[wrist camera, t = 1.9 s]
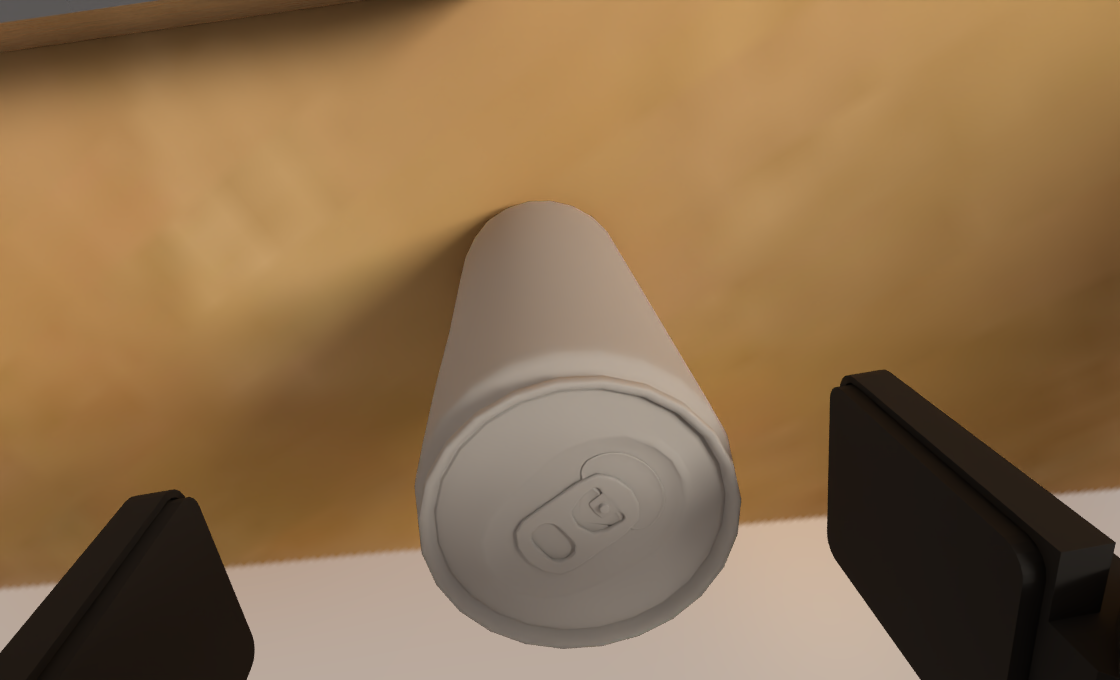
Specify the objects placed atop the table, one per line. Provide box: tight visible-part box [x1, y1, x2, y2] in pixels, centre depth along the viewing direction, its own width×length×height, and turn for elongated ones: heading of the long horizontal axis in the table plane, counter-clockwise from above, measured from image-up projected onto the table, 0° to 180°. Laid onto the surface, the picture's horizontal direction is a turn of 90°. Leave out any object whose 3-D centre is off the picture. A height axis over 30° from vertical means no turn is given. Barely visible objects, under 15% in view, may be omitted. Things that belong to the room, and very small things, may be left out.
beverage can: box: [415, 201, 741, 649], centre depth 15 cm, size 5×5×12 cm
